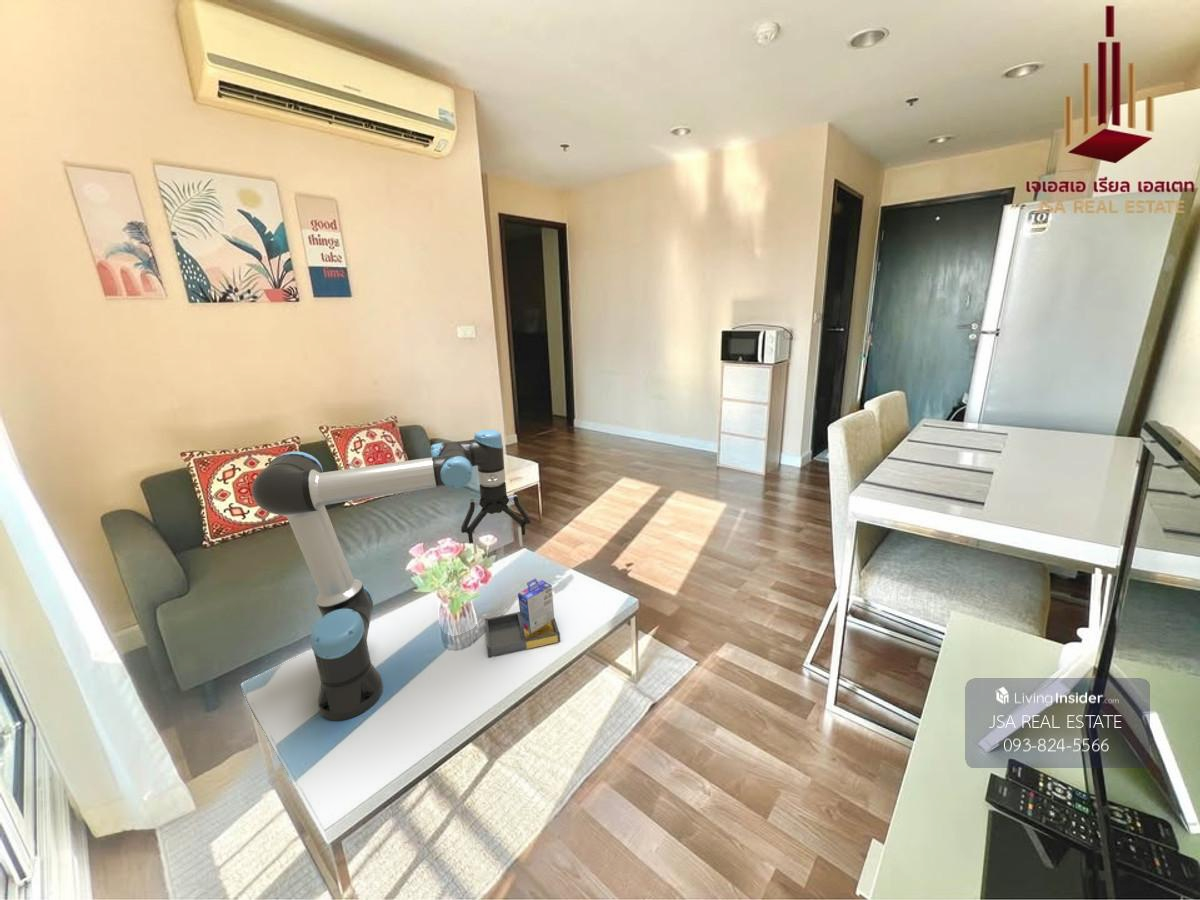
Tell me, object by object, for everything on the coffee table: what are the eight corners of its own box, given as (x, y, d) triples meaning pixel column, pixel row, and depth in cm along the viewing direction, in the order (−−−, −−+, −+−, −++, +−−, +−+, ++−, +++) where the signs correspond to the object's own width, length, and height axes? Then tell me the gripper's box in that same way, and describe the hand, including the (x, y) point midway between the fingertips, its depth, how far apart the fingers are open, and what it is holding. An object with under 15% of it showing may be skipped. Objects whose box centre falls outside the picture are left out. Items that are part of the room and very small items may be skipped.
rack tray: (489, 658, 136) (488, 649, 135) (485, 626, 149) (484, 618, 148) (560, 642, 141) (559, 634, 140) (551, 613, 155) (550, 605, 154)
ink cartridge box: (544, 611, 151) (541, 572, 147) (555, 618, 147) (552, 579, 143) (519, 626, 144) (516, 586, 140) (530, 634, 141) (527, 593, 136)
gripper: (447, 492, 128) (455, 560, 134) (537, 482, 135) (541, 547, 141) (448, 483, 135) (455, 548, 141) (533, 473, 141) (537, 536, 148)
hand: (498, 548), depth 141 cm, fingers open, 13 cm apart
